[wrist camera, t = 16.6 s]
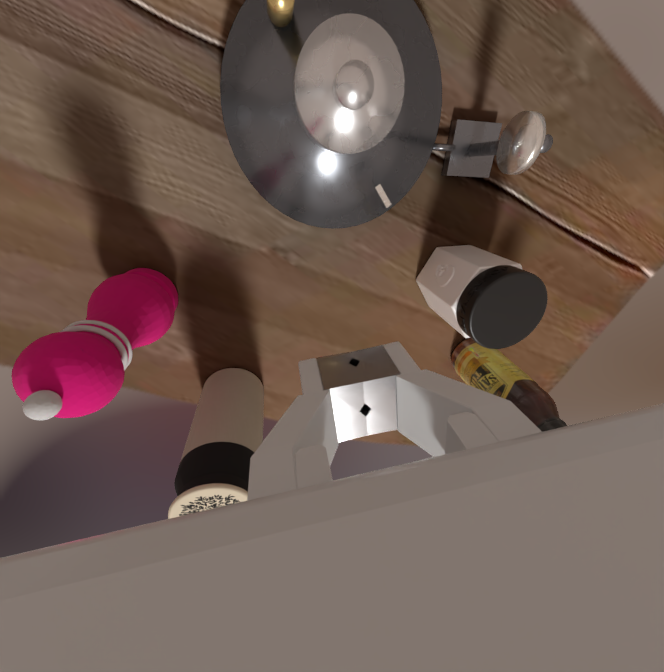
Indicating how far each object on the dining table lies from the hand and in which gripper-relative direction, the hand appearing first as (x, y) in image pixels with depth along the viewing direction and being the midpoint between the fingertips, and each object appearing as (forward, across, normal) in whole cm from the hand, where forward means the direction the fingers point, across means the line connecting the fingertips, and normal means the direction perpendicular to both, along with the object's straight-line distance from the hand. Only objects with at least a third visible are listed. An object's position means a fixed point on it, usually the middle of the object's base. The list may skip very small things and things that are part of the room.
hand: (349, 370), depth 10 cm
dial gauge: (+29, -19, -5) cm, 35 cm away
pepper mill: (+29, +17, +5) cm, 34 cm away
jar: (+29, -19, +9) cm, 36 cm away
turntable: (+29, -6, -9) cm, 31 cm away
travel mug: (+29, +12, +20) cm, 38 cm away
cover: (+26, -6, -10) cm, 29 cm away
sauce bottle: (+29, -22, +22) cm, 43 cm away
